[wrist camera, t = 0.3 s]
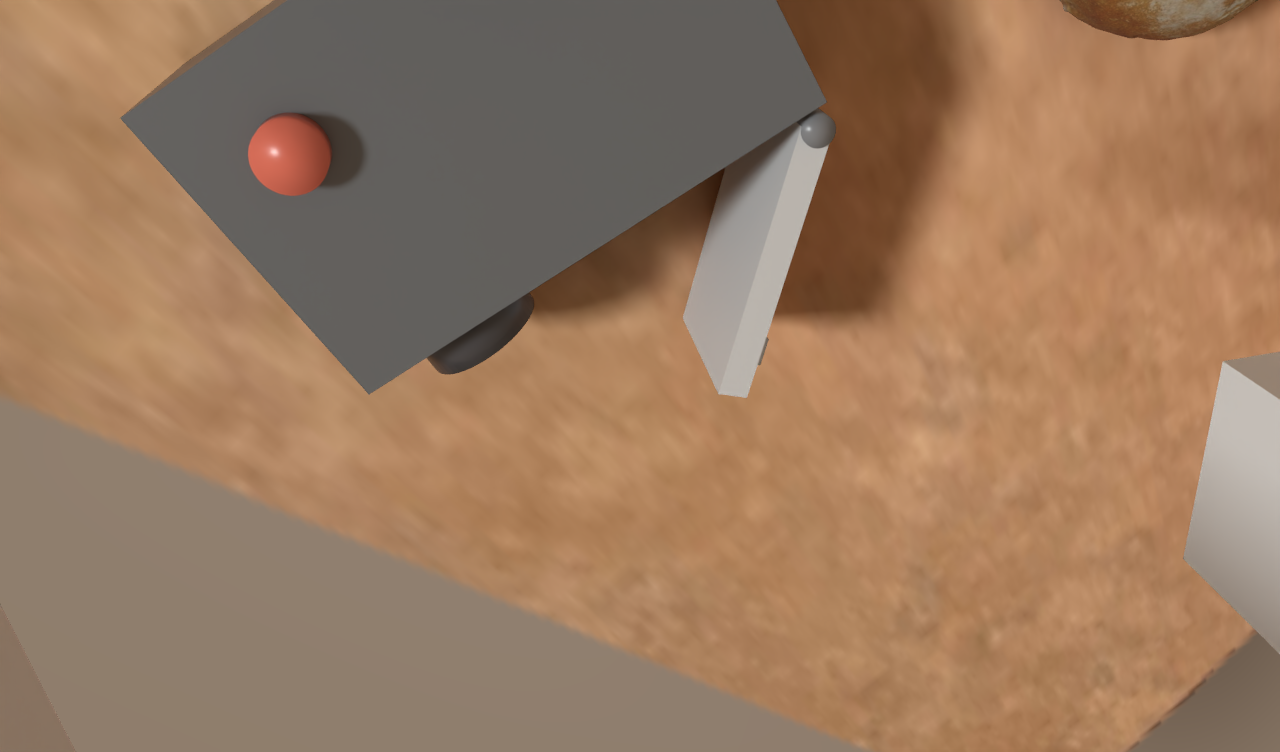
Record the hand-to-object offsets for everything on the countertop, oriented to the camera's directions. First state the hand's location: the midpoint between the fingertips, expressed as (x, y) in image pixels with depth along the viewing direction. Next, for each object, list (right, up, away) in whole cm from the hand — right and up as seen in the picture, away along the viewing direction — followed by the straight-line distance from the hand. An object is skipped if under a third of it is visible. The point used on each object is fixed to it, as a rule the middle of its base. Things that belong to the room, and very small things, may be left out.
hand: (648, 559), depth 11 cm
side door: (+3, +8, +26) cm, 27 cm away
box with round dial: (-5, +12, +22) cm, 26 cm away
